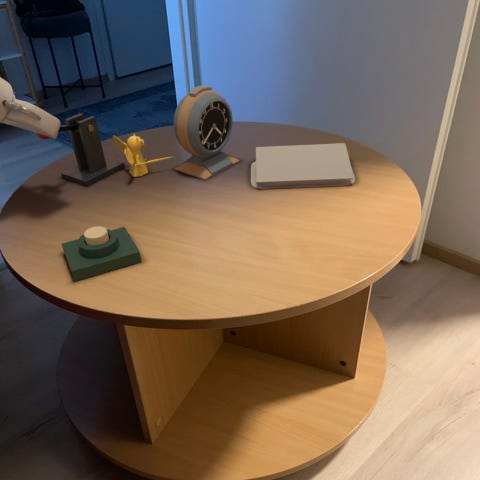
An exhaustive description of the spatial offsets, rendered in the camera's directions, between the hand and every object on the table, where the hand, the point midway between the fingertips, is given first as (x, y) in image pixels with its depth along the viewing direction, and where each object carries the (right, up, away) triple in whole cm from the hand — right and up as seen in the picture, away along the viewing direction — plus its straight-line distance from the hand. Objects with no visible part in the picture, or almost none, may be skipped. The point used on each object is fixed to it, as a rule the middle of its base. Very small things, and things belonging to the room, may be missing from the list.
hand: (47, 132), depth 107 cm
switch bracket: (+6, -4, +13) cm, 15 cm away
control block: (+16, -28, -15) cm, 36 cm away
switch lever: (+2, 0, +3) cm, 4 cm away
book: (+55, -6, +8) cm, 56 cm away
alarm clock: (+33, -3, +13) cm, 36 cm away
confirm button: (+16, -26, -18) cm, 35 cm away
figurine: (+19, -4, +13) cm, 24 cm away
